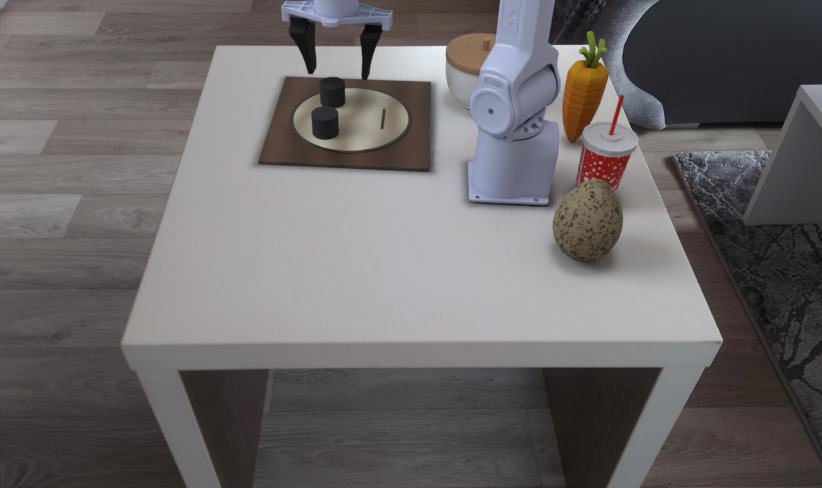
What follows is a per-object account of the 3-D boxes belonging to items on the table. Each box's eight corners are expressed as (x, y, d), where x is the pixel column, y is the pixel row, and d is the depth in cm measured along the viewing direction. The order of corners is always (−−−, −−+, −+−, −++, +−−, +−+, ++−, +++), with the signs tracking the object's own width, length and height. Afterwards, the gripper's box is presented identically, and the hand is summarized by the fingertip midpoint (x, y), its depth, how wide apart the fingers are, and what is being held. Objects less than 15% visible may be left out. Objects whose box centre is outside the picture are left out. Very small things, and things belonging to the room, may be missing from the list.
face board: (430, 84, 104) (431, 80, 104) (428, 171, 88) (428, 167, 88) (286, 79, 105) (285, 75, 105) (258, 164, 90) (257, 159, 89)
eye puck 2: (340, 125, 95) (339, 106, 93) (337, 140, 93) (336, 121, 90) (314, 124, 95) (313, 105, 93) (310, 139, 93) (309, 119, 91)
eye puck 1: (347, 96, 101) (347, 77, 98) (342, 109, 98) (341, 90, 96) (323, 94, 101) (322, 75, 99) (317, 107, 99) (316, 88, 96)
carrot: (591, 155, 91) (620, 47, 80) (552, 151, 92) (576, 44, 81) (589, 134, 94) (617, 28, 84) (552, 130, 95) (575, 25, 85)
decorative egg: (621, 273, 75) (647, 201, 68) (556, 277, 75) (576, 205, 68) (599, 230, 80) (621, 158, 73) (538, 234, 80) (555, 162, 73)
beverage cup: (626, 212, 83) (661, 108, 73) (577, 217, 82) (606, 113, 72) (606, 181, 87) (636, 79, 77) (559, 186, 86) (584, 84, 76)
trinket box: (436, 115, 98) (441, 53, 91) (447, 78, 105) (453, 18, 99) (512, 124, 96) (523, 61, 90) (518, 86, 104) (529, 25, 97)
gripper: (270, -18, 85) (280, 82, 95) (386, -8, 83) (384, 93, 92) (287, -40, 90) (294, 58, 100) (396, -31, 88) (394, 68, 97)
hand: (338, 73), depth 96 cm, fingers open, 7 cm apart
